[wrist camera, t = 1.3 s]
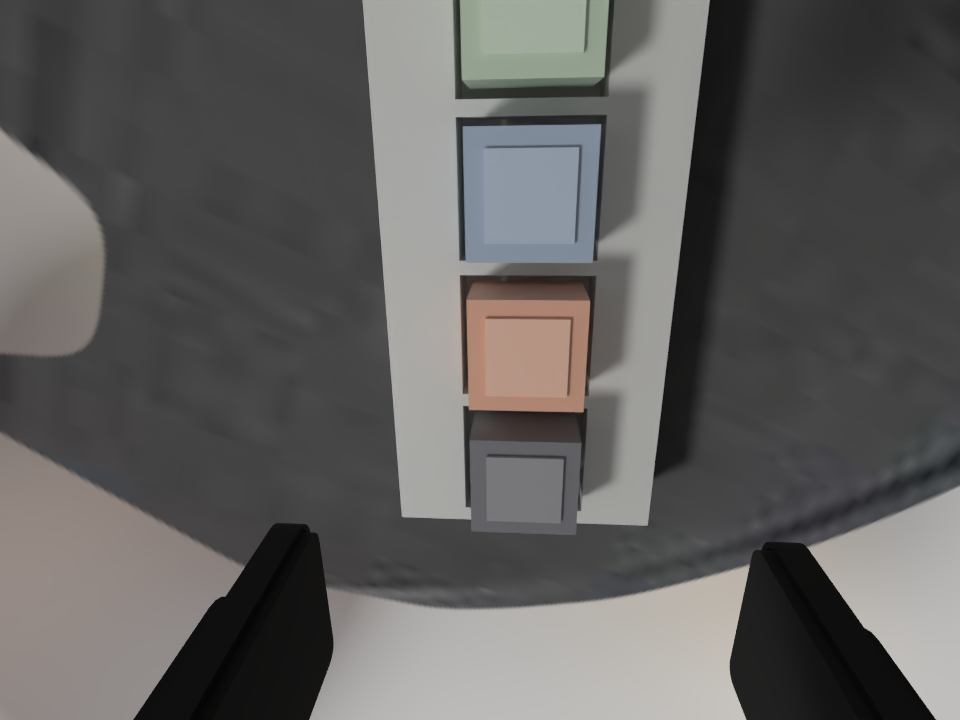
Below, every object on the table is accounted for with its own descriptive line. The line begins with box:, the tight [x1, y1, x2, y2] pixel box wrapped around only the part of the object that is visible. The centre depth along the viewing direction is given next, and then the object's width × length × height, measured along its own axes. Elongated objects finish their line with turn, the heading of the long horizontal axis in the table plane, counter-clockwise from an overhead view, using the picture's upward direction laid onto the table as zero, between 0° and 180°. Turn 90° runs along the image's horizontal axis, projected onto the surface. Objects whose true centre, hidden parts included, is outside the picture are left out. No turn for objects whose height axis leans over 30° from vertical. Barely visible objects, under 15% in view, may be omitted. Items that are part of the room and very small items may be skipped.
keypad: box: [363, 0, 710, 526], centre depth 24 cm, size 12×25×3 cm, turn 1°
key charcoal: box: [470, 410, 582, 535], centre depth 25 cm, size 5×5×3 cm
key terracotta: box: [467, 281, 590, 412], centre depth 23 cm, size 5×5×3 cm
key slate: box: [463, 124, 601, 263], centre depth 21 cm, size 5×5×3 cm
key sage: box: [460, 0, 609, 89], centre depth 18 cm, size 5×5×3 cm
